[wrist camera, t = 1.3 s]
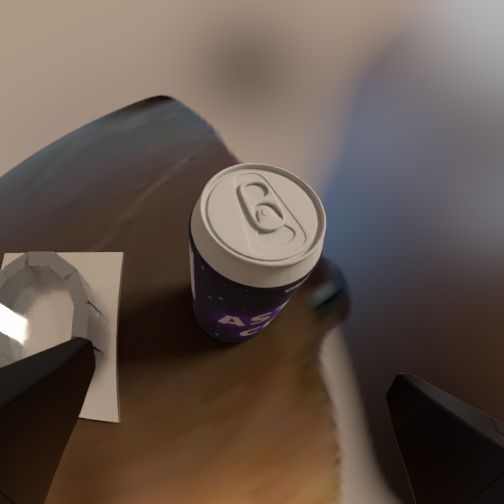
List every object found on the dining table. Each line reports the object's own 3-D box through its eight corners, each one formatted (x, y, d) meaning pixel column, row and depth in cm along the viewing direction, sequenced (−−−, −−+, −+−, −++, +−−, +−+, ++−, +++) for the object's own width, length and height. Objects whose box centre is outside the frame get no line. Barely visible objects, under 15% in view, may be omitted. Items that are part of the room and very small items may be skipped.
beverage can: (207, 355, 19) (215, 297, 8) (184, 284, 21) (174, 167, 11) (279, 330, 20) (360, 252, 10) (252, 266, 23) (296, 150, 12)
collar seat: (120, 421, 15) (107, 425, 12) (-10, 393, 12) (-32, 388, 10) (124, 255, 21) (115, 235, 18) (8, 256, 18) (-8, 239, 16)
